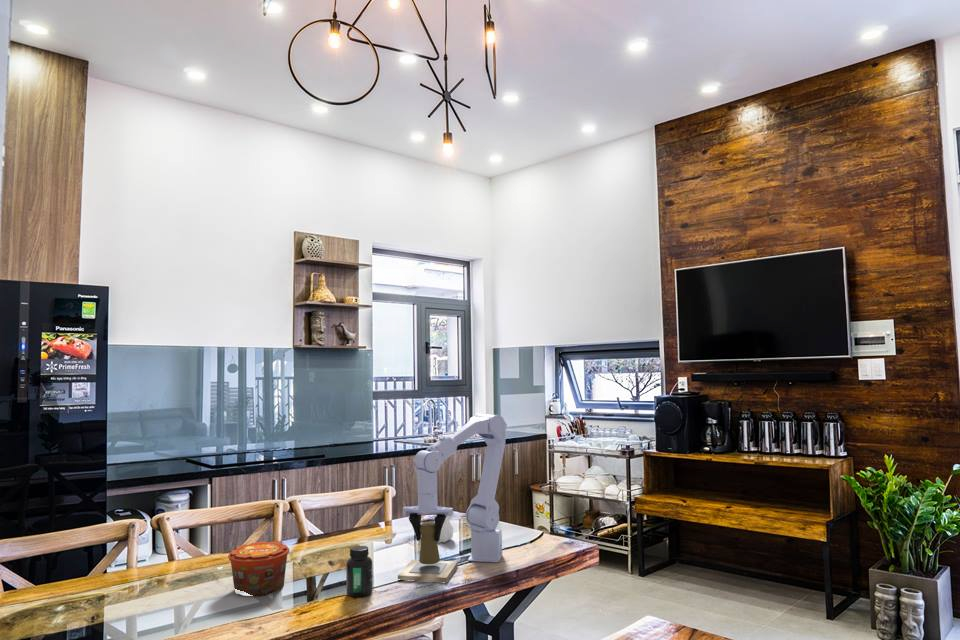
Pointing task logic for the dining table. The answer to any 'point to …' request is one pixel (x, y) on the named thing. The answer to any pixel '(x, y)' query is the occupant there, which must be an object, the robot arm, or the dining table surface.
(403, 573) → the base board
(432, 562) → the cork
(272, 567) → the food container
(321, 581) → the dining table surface
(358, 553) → the supplement bottle
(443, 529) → the bust
